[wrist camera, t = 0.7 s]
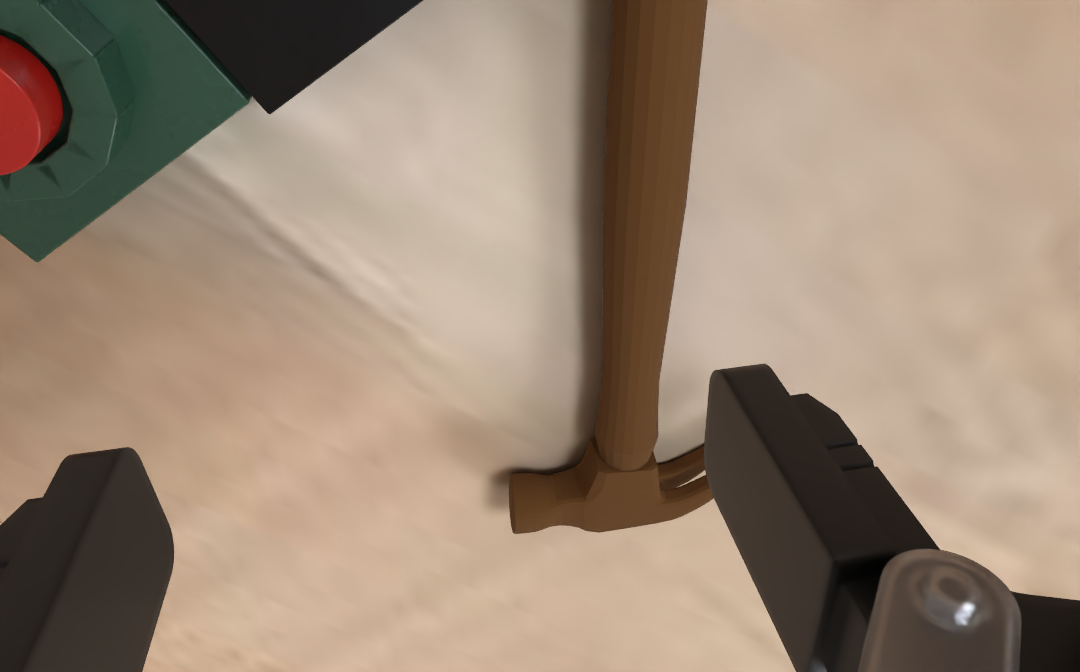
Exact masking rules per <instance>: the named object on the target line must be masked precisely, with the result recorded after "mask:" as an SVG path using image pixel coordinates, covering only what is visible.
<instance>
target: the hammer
mask: <svg viewBox="0 0 1080 672" xmlns="http://www.w3.org/2000/svg"><path fill="white" fill-rule="evenodd" d="M706 9H707V0H612V13H611V34H610V55H609V76H608V97H607V118H606V139H605V160H604V181H603V330H602V382H601V391H600V400H599V409H598V414H597V420H596V426H595V437H593V438H591V439H590V441H589V444H588V446H587V449H586V451H585V454H584V456H583V458H582V460H581V462H580V463H579V464H578V465H577V466H576V467H574V468H572V469H569V470H566V471H562V472H559V473H556V474H553V475H540V474H534V473H517V474H510V475H509V508H510V519H511V527H512V531H513V533H514V534H520V533H530V532H536V531H539V530H542V529H545V528H548V527H551V526H557V525H566V526H574V527H579V528H581V529H583V530H586V531H592V532H605V531H612V530H618V529H624V528H630V527H636V526H642V525H648V524H654V523H659V522H664V521H669V520H673V519H676V518H678V517H681V516H683V515H685V514H687V513H689V512H691V511H693V510H695V509H697V508H699V507H701V506H702V505H704V504H706V503H707V502H709V501H710V500H712V499H713V498H714V497H713V495H712V492H711V490H710V487H709V484H708V480H707V476H706V475H705V476H702V477H700V478H699V479H696V480H694V481H692V482H690V483H688V484H686V485H683V486H680V485H682V484H684V483H686V482H688V481H689V480H691V479H693V478H694V477H696V476H697V475H699V474H700V473H702V472H703V471H704V470H705V464H704V446H703V447H701V448H699V449H697V450H695V451H693V452H691V453H689V454H687V455H685V456H683V457H681V458H678V459H676V460H674V461H671V462H669V463H666V464H661V465H657V463H656V460H655V457H654V453H653V448H654V446H655V443H656V441H657V438H658V395H659V378H660V371H661V365H662V358H663V351H664V345H665V338H666V332H667V325H668V319H669V312H670V306H671V299H672V292H673V286H674V279H675V273H676V266H677V260H678V253H679V247H680V240H681V233H682V227H683V220H684V214H685V207H686V199H687V189H688V180H689V170H690V161H691V151H692V142H693V132H694V123H695V113H696V104H697V94H698V85H699V75H700V66H701V56H702V47H703V37H704V28H705V18H706ZM678 486H680V487H678ZM676 487H677V488H676Z"/></svg>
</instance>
